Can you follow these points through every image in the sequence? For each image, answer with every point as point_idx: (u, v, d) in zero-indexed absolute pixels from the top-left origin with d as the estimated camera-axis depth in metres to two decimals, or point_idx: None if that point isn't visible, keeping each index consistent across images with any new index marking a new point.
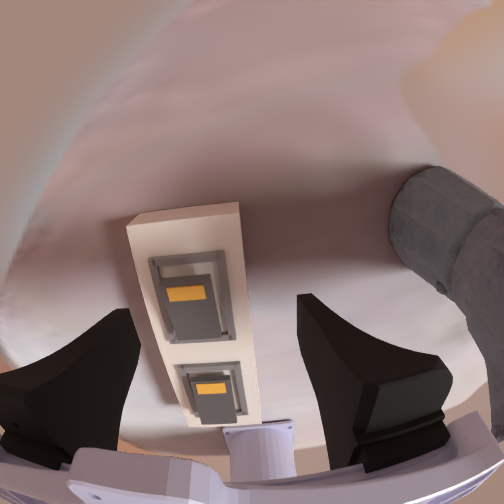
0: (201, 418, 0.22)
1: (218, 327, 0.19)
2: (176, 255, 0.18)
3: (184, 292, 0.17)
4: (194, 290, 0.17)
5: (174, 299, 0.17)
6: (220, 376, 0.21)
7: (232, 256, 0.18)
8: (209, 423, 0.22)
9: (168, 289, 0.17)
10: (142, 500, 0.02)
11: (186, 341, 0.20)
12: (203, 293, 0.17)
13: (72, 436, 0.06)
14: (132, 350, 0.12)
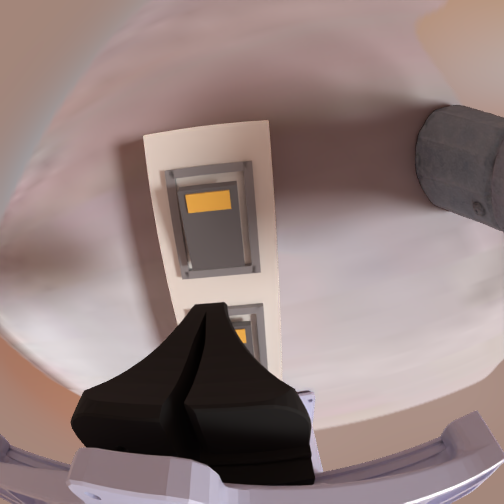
0: None
1: (242, 250, 0.17)
2: (197, 166, 0.16)
3: (207, 199, 0.15)
4: (218, 197, 0.15)
5: (193, 210, 0.15)
6: (239, 322, 0.19)
7: (260, 168, 0.16)
8: None
9: (188, 196, 0.15)
10: (142, 500, 0.02)
11: (202, 275, 0.18)
12: (228, 201, 0.15)
13: (189, 449, 0.06)
14: None
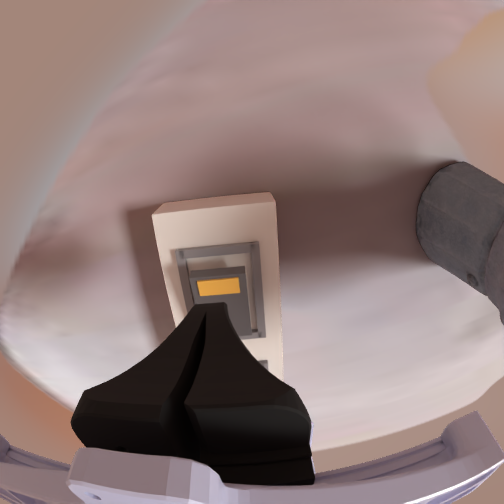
0: None
1: (249, 323, 0.18)
2: (207, 246, 0.17)
3: (217, 285, 0.16)
4: (227, 283, 0.16)
5: (205, 293, 0.16)
6: None
7: (266, 248, 0.17)
8: None
9: (199, 282, 0.16)
10: (142, 500, 0.02)
11: None
12: (237, 286, 0.16)
13: (189, 449, 0.06)
14: None
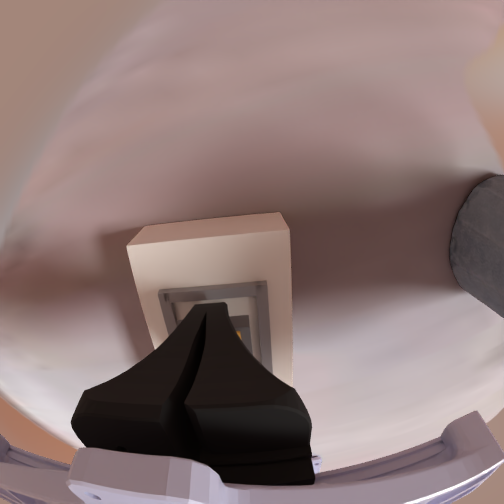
0: None
1: None
2: (199, 287, 0.13)
3: None
4: None
5: None
6: None
7: (277, 288, 0.13)
8: None
9: None
10: (142, 500, 0.02)
11: None
12: None
13: (189, 449, 0.06)
14: None
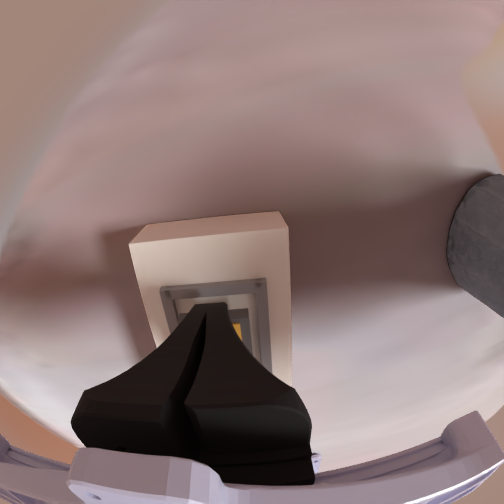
0: None
1: None
2: (199, 284, 0.13)
3: None
4: None
5: None
6: None
7: (276, 286, 0.14)
8: None
9: None
10: (142, 500, 0.02)
11: None
12: (239, 334, 0.12)
13: (189, 449, 0.06)
14: None
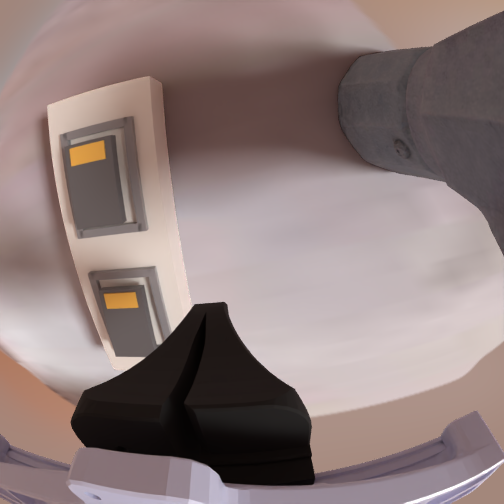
0: (114, 346, 0.18)
1: (118, 205, 0.15)
2: (87, 127, 0.14)
3: (85, 151, 0.13)
4: (95, 149, 0.14)
5: (75, 162, 0.14)
6: (132, 286, 0.18)
7: (141, 123, 0.15)
8: (124, 355, 0.18)
9: (71, 149, 0.13)
10: (142, 500, 0.02)
11: (94, 234, 0.16)
12: (103, 151, 0.14)
13: (189, 449, 0.06)
14: None
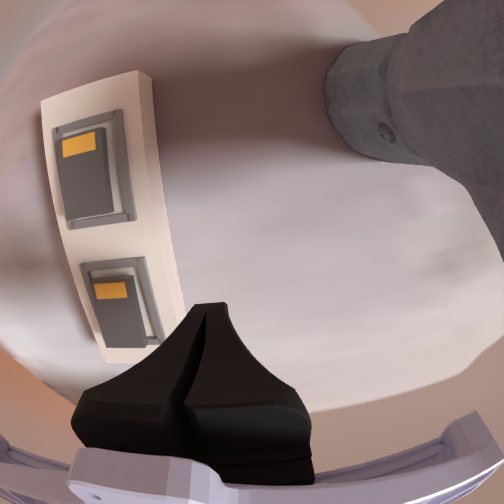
0: (104, 337, 0.18)
1: (106, 195, 0.15)
2: (78, 120, 0.14)
3: (77, 142, 0.14)
4: (86, 140, 0.14)
5: (67, 154, 0.14)
6: (122, 276, 0.18)
7: (130, 115, 0.15)
8: (114, 346, 0.18)
9: (64, 141, 0.14)
10: (142, 500, 0.02)
11: (84, 225, 0.16)
12: (93, 142, 0.14)
13: (189, 449, 0.06)
14: None
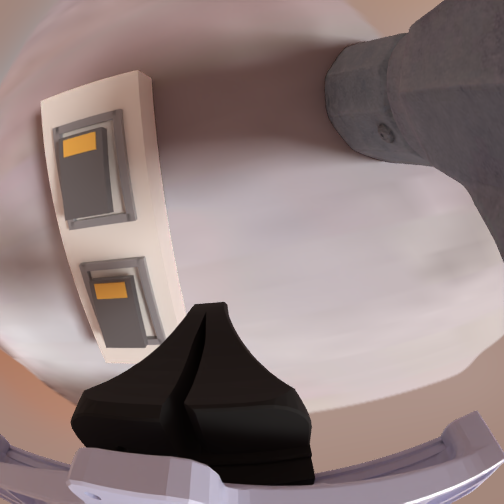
0: (104, 337, 0.18)
1: (105, 195, 0.15)
2: (78, 120, 0.14)
3: (77, 142, 0.14)
4: (86, 140, 0.14)
5: (67, 153, 0.14)
6: (122, 276, 0.18)
7: (130, 115, 0.15)
8: (114, 346, 0.18)
9: (64, 141, 0.14)
10: (142, 500, 0.02)
11: (84, 225, 0.16)
12: (94, 142, 0.14)
13: (189, 449, 0.06)
14: None
